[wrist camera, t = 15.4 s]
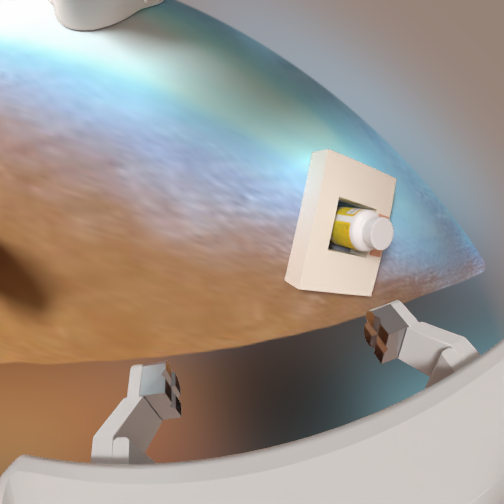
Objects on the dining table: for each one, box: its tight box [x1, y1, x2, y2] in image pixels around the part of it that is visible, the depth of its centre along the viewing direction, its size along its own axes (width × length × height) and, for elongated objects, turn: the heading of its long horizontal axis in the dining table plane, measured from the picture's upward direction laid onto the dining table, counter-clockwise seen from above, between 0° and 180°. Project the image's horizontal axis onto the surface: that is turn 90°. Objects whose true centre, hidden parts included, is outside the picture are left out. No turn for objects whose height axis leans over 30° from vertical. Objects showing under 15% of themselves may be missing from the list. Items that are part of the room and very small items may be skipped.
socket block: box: [284, 149, 396, 296], centre depth 40 cm, size 18×13×4 cm
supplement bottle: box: [330, 207, 393, 252], centre depth 37 cm, size 5×5×10 cm
